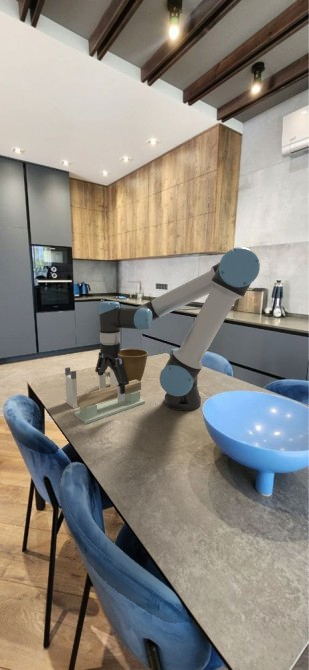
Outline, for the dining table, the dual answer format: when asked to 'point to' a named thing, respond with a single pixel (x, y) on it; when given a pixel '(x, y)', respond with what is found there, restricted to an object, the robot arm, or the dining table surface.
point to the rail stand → (72, 386)
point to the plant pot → (134, 362)
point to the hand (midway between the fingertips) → (111, 395)
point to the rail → (106, 394)
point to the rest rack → (108, 408)
